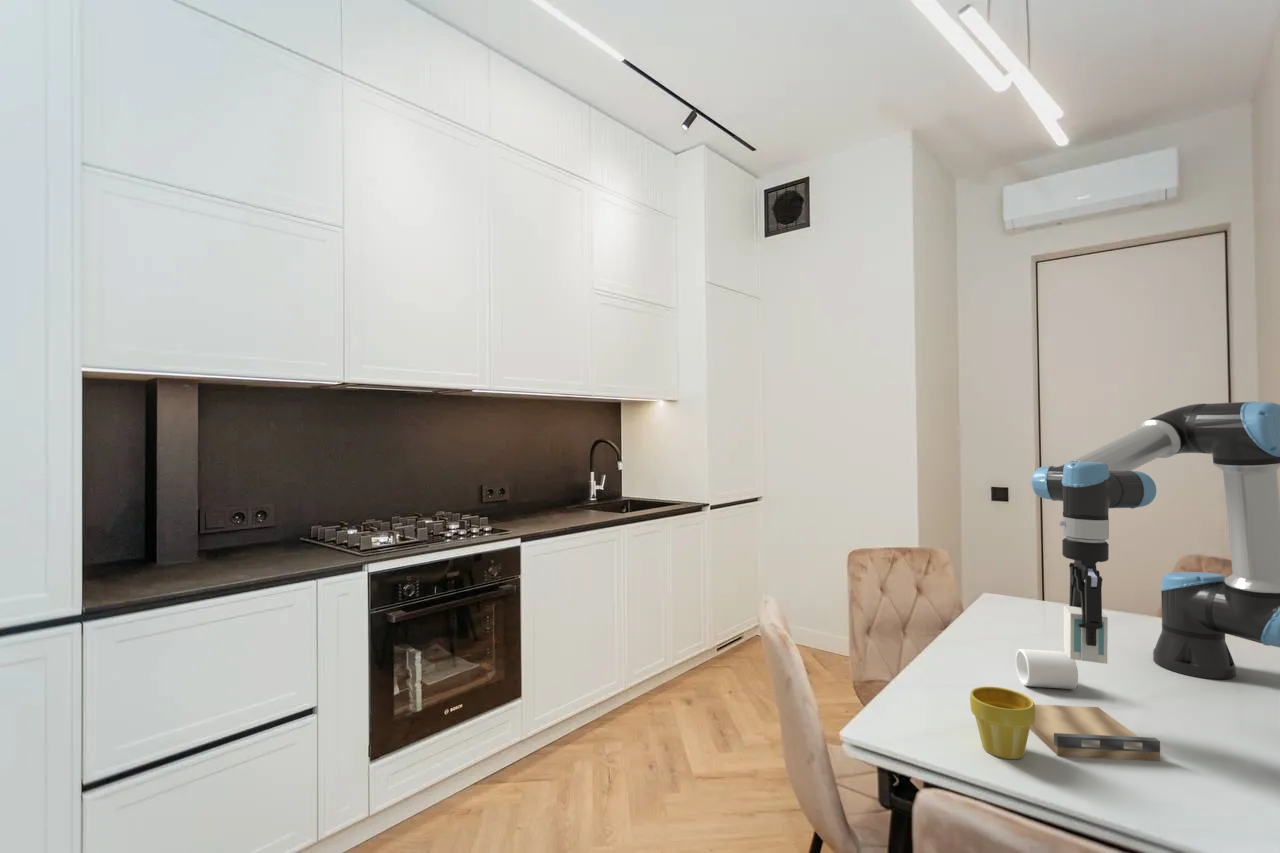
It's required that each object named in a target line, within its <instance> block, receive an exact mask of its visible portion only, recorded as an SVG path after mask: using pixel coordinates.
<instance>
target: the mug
mask: <svg viewBox="0 0 1280 853" xmlns="http://www.w3.org/2000/svg"><path fill="white" fill-rule="evenodd" d="M1014 659H1015V661H1014V662H1015V670H1016V674H1017V677H1018V679H1019V682H1020V683H1021V684H1022V685H1023V686H1025V687H1032V688H1033V687H1034V688H1036V687H1037V688H1051V689H1064V690H1065V689H1066V690H1074V689H1076V688H1077V687H1078V683H1079V682H1078V681H1079V669H1078V666H1077V663H1076V661H1075V660H1074V659H1070V658H1069V656H1068V655H1067V654H1066V652H1065V651H1064V650H1063V651H1060V650H1043V649H1027V648H1019V649H1018V650H1017V651H1016V654H1015V658H1014Z"/></svg>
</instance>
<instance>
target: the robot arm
mask: <svg viewBox="0 0 1280 853" xmlns="http://www.w3.org/2000/svg"><path fill="white" fill-rule="evenodd" d="M1178 454H1179V455H1180V454H1207V455H1208V454H1209V455H1210V454H1211V455H1212V462H1213V465H1214V466H1216V467H1217V468H1219V469H1220V470H1222V474H1223V484H1224V494H1225V496H1224V498H1225V506H1226V518H1227V528H1228V538H1229V547H1230V548H1229V549H1230V560H1231V571H1232V574H1230V575H1229V576H1227V577H1225V576H1224V575H1223V574H1221V573H1214V572H1204V571H1199V572H1198V571H1178V572H1177V571H1175V572H1173V571H1172V572H1167V573H1165V574H1164V575H1163V576H1162V578H1161V588H1160V592H1161V594H1160V595H1161V632H1160V635H1159V637H1158V639H1157V641H1156V644H1155V647H1154V648H1153V650H1152V651H1153V652H1152V661H1153V662H1154V663H1155V664H1156V665H1158V666H1160V667H1161V668H1162V667H1163V668H1165V669H1167V670H1169V671H1172V672H1175V673H1179V674H1183V675H1187V676H1191V677H1198V678H1203V679H1210V680H1211V679H1212V680H1225V679H1226V680H1229V679H1233V678H1235V677H1236V676H1237V674H1236V672H1237V670H1236V664H1235V662H1234V659H1233V657H1232V654H1231V652H1230V649H1229V647H1228V644H1227V642H1226V635H1230V636H1233V637H1236V638H1241V639H1245V640H1248V641H1252V642H1255V643H1258V644H1262V645H1263V646H1268V647H1270V646H1271V647H1276V648H1280V490H1279V489H1280V488H1279V479H1278V471H1279V468H1280V404H1279V403H1277V402H1276V403H1275V402H1271V401H1267V402H1266V401H1239V402H1238V401H1237V402H1220V403H1219V402H1218V403H1217V402H1216V403H1194V404H1188V405H1185V406H1181V407H1178V408H1175V409H1171V410H1169V411H1166V412H1164V413H1160V414H1159V415H1156V416H1153V417H1150V418H1149V419H1147V420H1145V421H1143V422H1141V423H1140V424H1139V425H1138V426H1137V428H1136V429H1135V430H1134V431H1132V432H1130V433H1128V434H1126V435H1124V436H1121V437H1119V438H1117V439H1115V440H1112V441H1111V442H1108V443H1107V444H1105V445H1102V446H1101V447H1098V448H1096V449H1094V450H1092V451H1089V452H1088V453H1086V454H1084V455H1081V456H1080V457H1077V458H1075V459H1073V460H1070V461H1068V462H1066V463H1065V464H1062V465H1059V466H1054V465H1050V466H1040V467H1038V468H1037V469H1036V470H1035V471H1034V472H1033V473H1032V476H1031V483H1030V484H1031V487H1032V488H1031V489H1032V490H1033V493H1034V494H1035V495H1036V496H1037V497H1039V498H1041V499H1044V500H1045V499H1046V500H1051V501H1053V502H1055V501H1057V502H1058V501H1059V502H1062V520H1061V521H1059V526H1061V527H1062V535H1063V536H1064V538H1063V539H1062V542H1061V543H1062V551H1061V552H1062V556H1063V557H1064V558H1066V559H1069V560H1073V562H1069V564H1068V565H1069V566H1068V567H1069V605H1068V606H1073V607H1081V608H1082V622H1083V623H1082V624H1078V626H1079V627H1081V660H1080V661H1083V662H1089V661H1090V663H1097V662H1098V648H1099V628H1100V629H1102V627H1103V625H1102V612H1103V605H1102V602H1103V601H1102V598H1103V597H1102V588H1103V587H1102V585H1103V578H1102V576H1101V575H1100V570H1098V569H1097V563H1104V562H1107V561H1109V556H1110V555H1109V552H1110V551H1109V548H1110V547H1109V543H1108V542H1107V540H1109V539H1110V519H1109V511H1110V510H1109V509H1132V510H1133V509H1136V508H1142V507H1145V506H1148V505H1150V504H1151V503H1152V502H1153V501H1154V500H1155V498H1156V495H1157V486H1156V483H1155V481H1154V480H1153V479H1152V477H1151V476H1150V475H1148V474H1146V473H1145V472H1141V471H1136V469H1138V468H1140V467H1141V466H1144V465H1146V464H1148V463H1150V462H1152V461H1155V460H1156V459H1166V458H1170V457H1173V456H1176V455H1178ZM1134 470H1135V471H1134Z"/></svg>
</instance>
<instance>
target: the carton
mask: <svg viewBox="0 0 1280 853" xmlns="http://www.w3.org/2000/svg"><path fill="white" fill-rule="evenodd" d="M1082 623H1083V622H1082V608H1081V607H1073V606H1069V605H1063V651H1064V652H1066V654H1067V655H1068V656H1069V658H1070V659H1074V660H1076V661H1082V660H1081V627H1079V626H1078V624H1082ZM1102 625H1103V627H1102V629H1100V628H1099V648H1098V662H1096V663H1098V664H1106V665H1108V636H1109V635H1108V631H1109V630H1108V627H1109V626H1108V625H1109V624H1108V616H1107V615H1106V614H1105V613H1104V612H1103V611H1102ZM1088 662H1090V661H1088ZM1090 663H1091V662H1090Z"/></svg>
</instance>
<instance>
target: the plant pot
mask: <svg viewBox="0 0 1280 853" xmlns="http://www.w3.org/2000/svg"><path fill="white" fill-rule="evenodd" d="M969 699H970V701H969V702H970V704H969V705H970V711H971V714H972V715H973V716H974V717H975V720H976V724H977V727H978V728H977V729H978V733H979V736H980V741H981V745H982V748H983V749H984V750H985V751H986V752H987V753H988V754H990V755H992V756H995V757H997V758H1001V759H1007V760H1019V759H1021V758H1023V757H1024V756H1025V753H1026V748H1027V743H1028V739H1029V733H1030V731H1031V730H1030V726H1031V725H1033V724H1034V722H1035V705H1034V704H1035V702H1034V701H1033V699H1032V698H1031V697H1029V696H1028V695H1027V694H1024V693H1021V692H1019V691H1016V690H1014V689H1009V688H1004V687H997V686H979V687H975V688H973V689H972V690H970V692H969Z"/></svg>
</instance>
